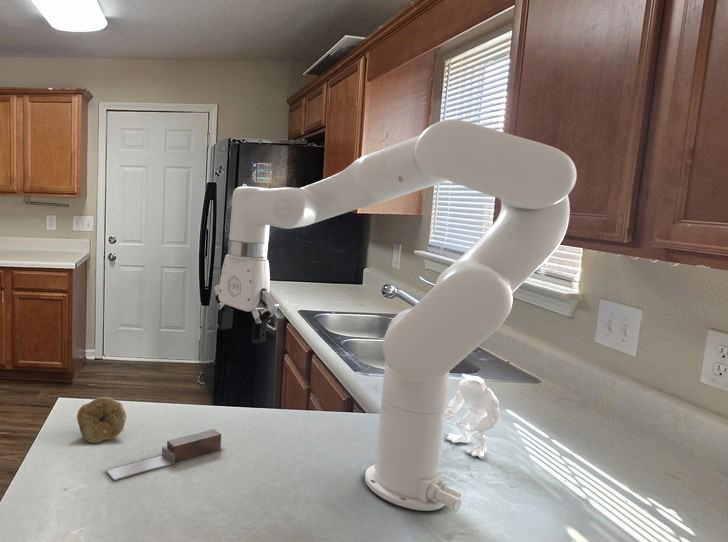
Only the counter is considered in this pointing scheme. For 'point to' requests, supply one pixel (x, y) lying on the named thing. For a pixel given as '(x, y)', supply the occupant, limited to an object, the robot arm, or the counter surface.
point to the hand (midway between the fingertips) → (241, 335)
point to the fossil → (101, 419)
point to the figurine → (474, 412)
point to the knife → (173, 453)
